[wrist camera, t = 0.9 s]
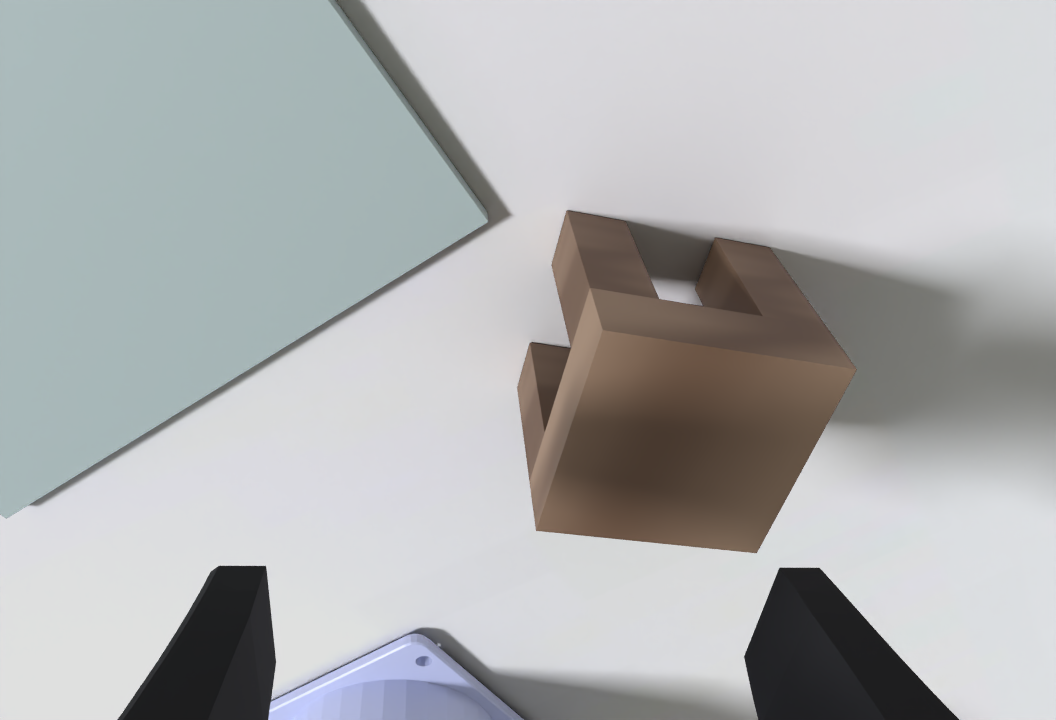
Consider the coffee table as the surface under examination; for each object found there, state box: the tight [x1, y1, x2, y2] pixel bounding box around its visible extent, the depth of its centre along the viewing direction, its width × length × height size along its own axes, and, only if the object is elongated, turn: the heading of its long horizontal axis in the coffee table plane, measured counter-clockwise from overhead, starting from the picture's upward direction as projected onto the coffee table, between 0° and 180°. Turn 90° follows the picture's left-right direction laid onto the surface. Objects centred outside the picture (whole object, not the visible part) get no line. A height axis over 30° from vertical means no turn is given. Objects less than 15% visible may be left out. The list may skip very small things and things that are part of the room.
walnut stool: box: [517, 211, 857, 553], centre depth 19 cm, size 5×5×5 cm
